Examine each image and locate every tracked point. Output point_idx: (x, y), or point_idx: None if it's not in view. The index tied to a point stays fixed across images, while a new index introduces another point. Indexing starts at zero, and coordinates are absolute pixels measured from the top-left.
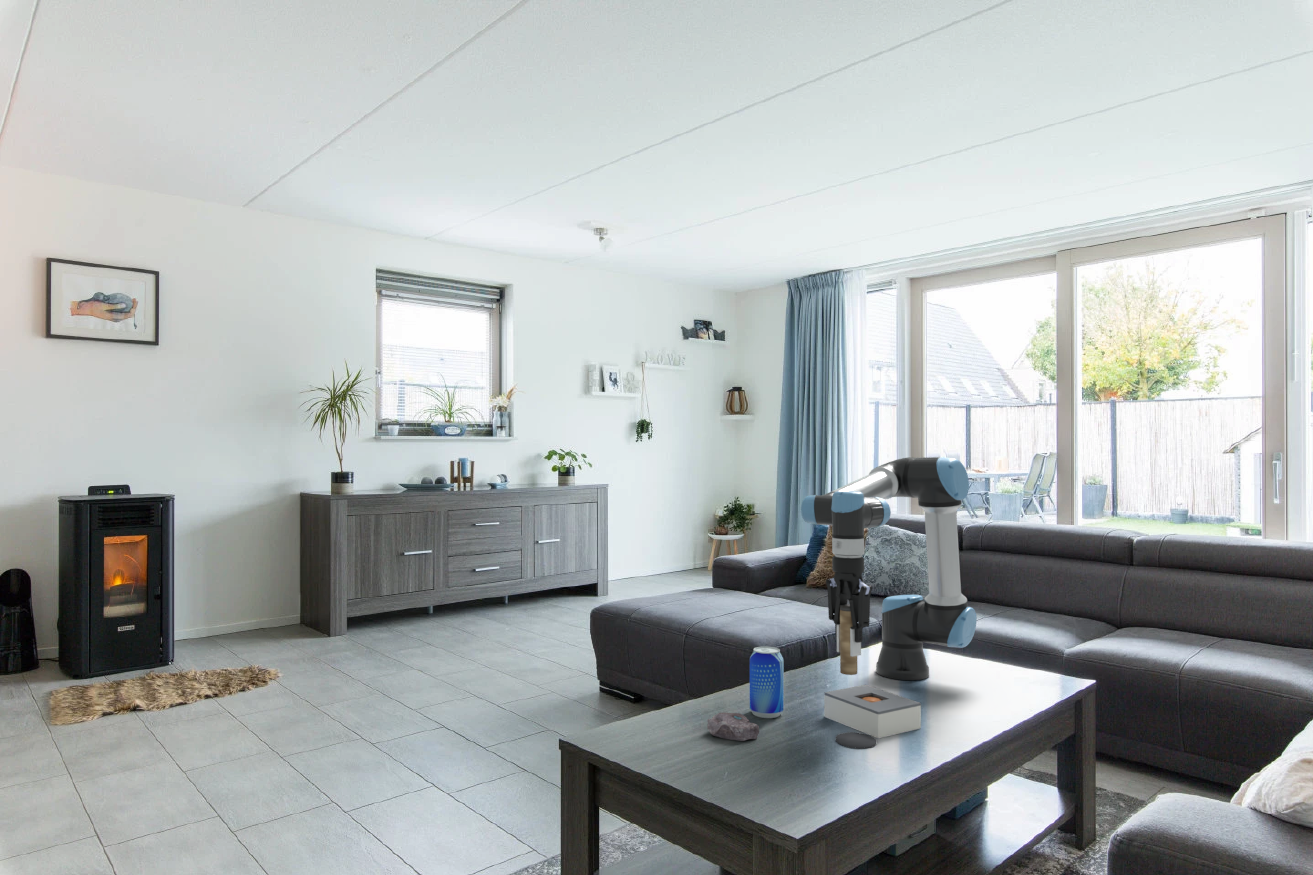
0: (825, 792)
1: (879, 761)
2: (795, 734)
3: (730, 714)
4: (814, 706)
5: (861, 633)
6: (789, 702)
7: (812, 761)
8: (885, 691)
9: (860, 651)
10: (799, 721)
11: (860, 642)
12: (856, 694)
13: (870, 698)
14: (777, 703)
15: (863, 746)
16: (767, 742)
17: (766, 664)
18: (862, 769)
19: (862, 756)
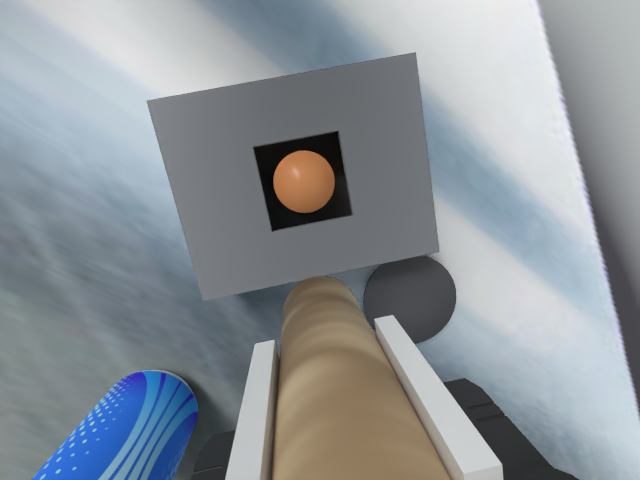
0: (585, 468)
1: (521, 315)
2: None
3: None
4: (125, 256)
5: (523, 444)
6: (71, 305)
7: None
8: (253, 84)
9: (401, 329)
10: (238, 352)
11: (424, 362)
12: (257, 211)
13: (291, 177)
14: (188, 418)
15: (452, 307)
16: None
17: None
18: (538, 366)
19: (486, 332)
